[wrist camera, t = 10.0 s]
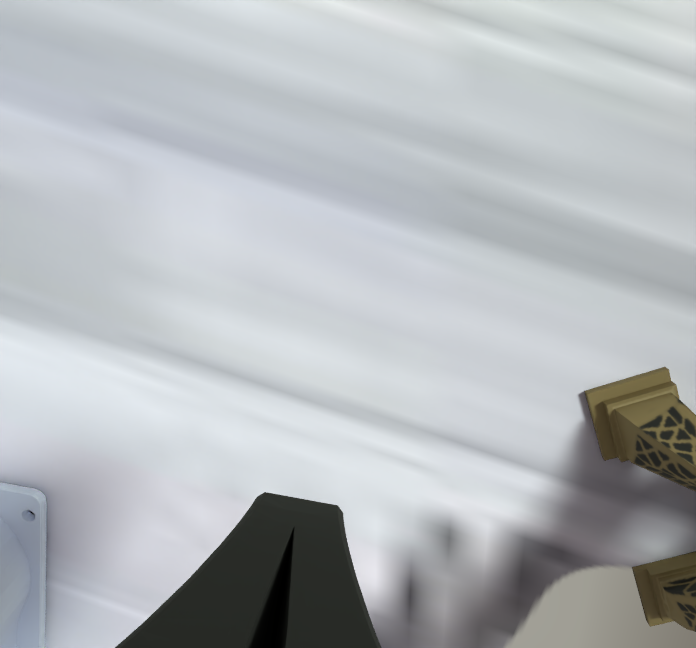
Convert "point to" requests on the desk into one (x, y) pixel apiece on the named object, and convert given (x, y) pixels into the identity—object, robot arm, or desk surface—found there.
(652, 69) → the desk surface
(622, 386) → the eiffel tower
